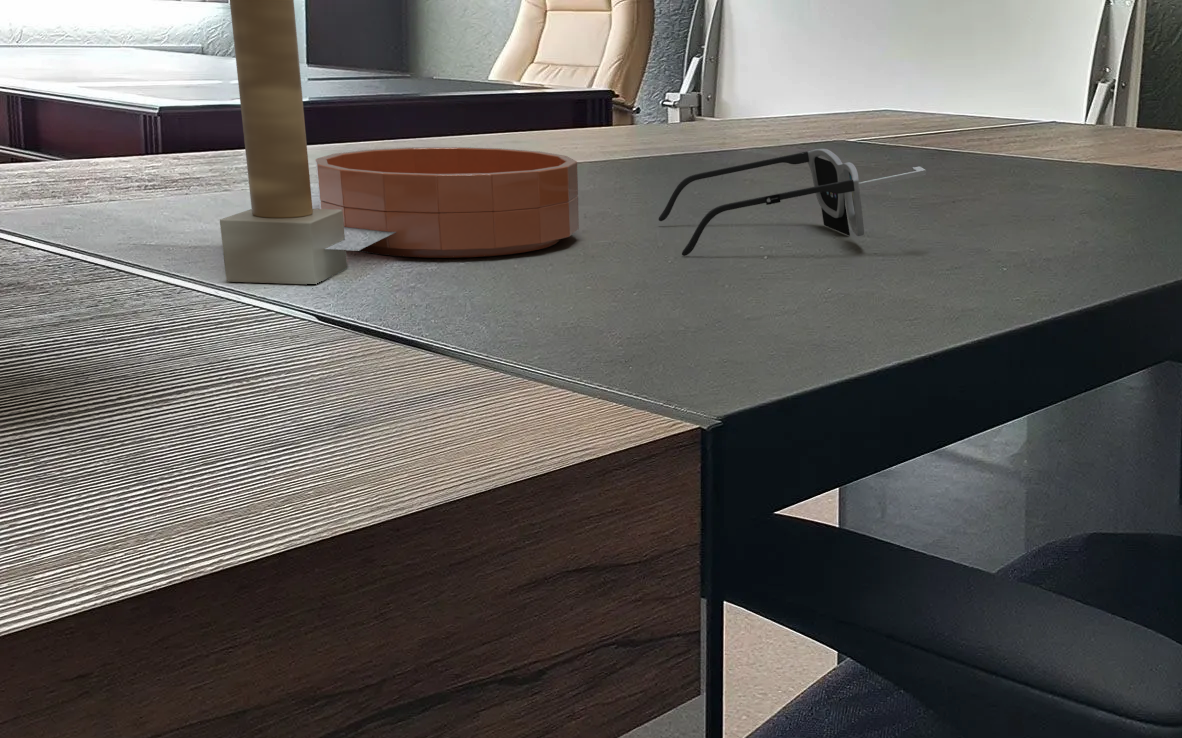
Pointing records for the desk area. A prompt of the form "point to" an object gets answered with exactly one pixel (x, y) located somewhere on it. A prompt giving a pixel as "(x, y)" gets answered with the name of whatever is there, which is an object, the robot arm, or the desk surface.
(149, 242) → the desk surface
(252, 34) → the brush
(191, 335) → the desk surface
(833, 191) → the smart glasses
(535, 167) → the bowl
